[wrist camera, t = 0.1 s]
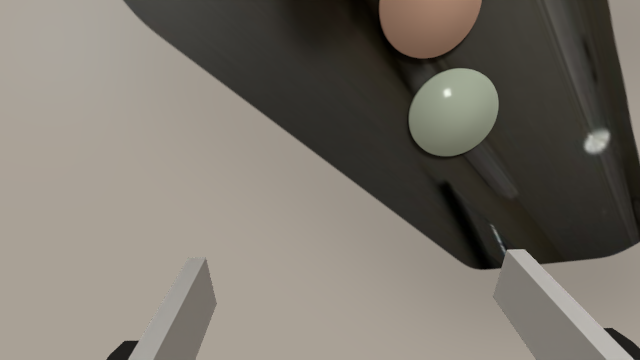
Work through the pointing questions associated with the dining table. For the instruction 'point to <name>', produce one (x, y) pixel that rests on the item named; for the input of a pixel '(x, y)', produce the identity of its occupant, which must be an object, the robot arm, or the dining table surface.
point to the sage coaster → (453, 111)
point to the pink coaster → (427, 24)
